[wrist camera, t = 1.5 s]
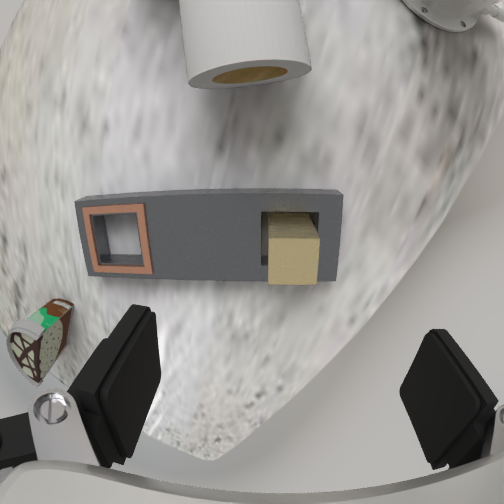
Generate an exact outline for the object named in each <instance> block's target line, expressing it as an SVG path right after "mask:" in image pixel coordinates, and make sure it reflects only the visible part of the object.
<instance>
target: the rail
mask: <svg viewBox="0 0 504 504" xmlns="http://www.w3.org/2000/svg"><path fill="white" fill-rule="evenodd" d="M342 207H343V194H342V193H340V192H339V191H338V190H323V189H199V190H173V191H153V192H137V193H122V194H109V195H97V196H86V197H84V198H81V199H79V200H77V201H75V208H76V215H77V221H78V227H79V233H80V238H81V243H82V248H83V253H84V258H85V262H86V267H87V271H88V275H89V276H100V277H122V278H146V279H176V280H216V281H268V256H261V212H315V223H314V227H315V229H316V231H317V233H318V236H319V238H320V246H319V260H318V273H317V281H336V275H337V266H338V256H339V245H340V234H341V221H342ZM119 214H136V217H137V225H138V232H139V240H140V247H141V253H142V255H116V254H110V249H109V244H108V238H107V232H106V225H105V219H104V215H119Z"/></svg>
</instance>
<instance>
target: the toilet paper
mask: <svg viewBox="0 0 504 504" xmlns="http://www.w3.org/2000/svg"><path fill="white" fill-rule="evenodd" d="M179 5H180V15H181V25H182V34H183V43H184V52H185V60H186V68H187V76H188V84H189V85H190V86H192V87H195V88H205V89H216V88H233V87H243V86H251V85H260V84H266V83H273V82H278V81H283V80H288V79H292V78H296V77H299V76H302V75H305V74H307V73H309V72H310V71H311V62H310V56H309V50H308V45H307V39H306V34H305V28H304V23H303V18H302V13H301V9H300V4H299V0H179Z"/></svg>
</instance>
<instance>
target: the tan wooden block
mask: <svg viewBox="0 0 504 504" xmlns="http://www.w3.org/2000/svg"><path fill="white" fill-rule="evenodd" d="M319 246H320V238H319V236H318V233H317V231H316V229H315V227H314V225H313V223H312V221H311V219H310V217H309V215H308V213H269V251H268V285H316V284H317V273H318V260H319Z"/></svg>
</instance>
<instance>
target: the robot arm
mask: <svg viewBox="0 0 504 504" xmlns="http://www.w3.org/2000/svg"><path fill="white" fill-rule="evenodd" d="M402 1H403V2H404V3H405V4H406V5H407V6H408V7H409V8H410V9H411V10H412V11H413V12H414V13H415V14H416V15H418V16H419V17H421V18H422V19H423V20H425V21H426V22H428V23H430V24H431V25H433V26H435V27H437V28H440V29H442V30H445V31H449V32H462V31H466V30H468V29H470V28H472V27H473V26H474V25H475V23H476V22H477V20H478V15H479V14H481V13H482V14H484V15H488V14H489V15H491V16H492V17H494V18H496V19H498V20H500V21H501V22H504V10H503V9H501V8H500V7H498V6H496V5H493V4H495V3H497V2H500V1H502V0H402ZM160 380H161V367H160V358H159V348H158V337H157V325H156V314H155V312H151V310H150V308H149V307H147V306H141V305H135V304H133V305H131V306H130V308H129V309H128V311H127V312H126V313H125V315H124V316H123V317H122V319H121V320H120V322H119V323H118V324H117V326H116V327H115V329H114V330H113V331H112V333H111V334H110V336H109V337H108V339H107V338H105V339H103V340H102V341H101V342H100V344H99V345H98V347H97V348H96V349H95V351H94V352H93V354H92V355H91V357H90V358H89V359H88V361H87V362H86V364H85V365H84V367H83V368H82V370H81V371H80V373H79V374H78V376H77V377H76V379H75V380H74V382H73V383H72V385H71V386H70V388H69V389H68V391H67V392H65V391H63V390H60V389H47V390H44V391H41V392H39V393H38V394H36V395H35V396H34V397H33V398H32V400H31V401H30V404H29V408H28V412H27V413H23V414H20V415H15V416H12V417H7V418H3V419H0V504H504V405H501V406H499V408H498V409H497V410H496V411H495V410H494V407H495V406H496V404H497V403H498V399H497V398H496V397H495V395H494V394H493V392H492V390H491V389H490V388H489V386H488V385H487V383H486V382H485V381H484V379H483V378H482V376H481V375H480V374H479V372H478V371H477V369H476V368H475V367H474V365H473V364H472V363H471V361H470V360H469V359H468V357H467V356H466V355H465V353H464V352H463V351H462V349H461V348H460V347H459V345H458V344H457V343H456V342H455V340H454V339H453V338H452V336H451V335H450V334H449V333H448V331H447V330H445V329H432V330H430V331H429V332H428V333H427V334H426V335H425V337H424V339H423V341H422V343H421V346H420V348H419V350H418V352H417V354H416V356H415V359H414V361H413V363H412V365H411V367H410V369H409V371H408V373H407V375H406V377H405V379H404V381H403V383H402V385H401V387H400V397H401V399H402V401H403V404H404V406H405V408H406V411H407V413H408V415H409V417H410V420H411V422H412V425H413V427H414V430H415V432H416V435H417V437H418V440H419V442H420V445H421V447H422V450H423V452H424V455H425V457H426V460H427V462H428V463H430V464H431V466H432V469H433V470H435V469H438V468H442V467H445V466H446V464H449V469H448V470H446V471H443V472H439V473H435V474H431V475H428V476H424V477H420V478H416V479H411V480H407V481H402V482H398V483H392V484H387V485H382V486H375V487H368V488H361V489H353V490H344V491H333V492H319V493H289V494H288V493H283V494H282V493H281V494H280V493H251V492H237V491H226V490H216V489H209V488H202V487H195V486H188V485H182V484H177V483H171V482H166V481H160V480H156V479H151V478H147V477H143V476H139V475H135V474H130V473H125V472H121V471H117V470H113V469H110V467H111V466H112V463H113V462H115V463H118V464H121V465H124V462H125V460H126V457H127V458H131V457H132V455H133V453H134V450H135V447H136V444H137V442H138V439H139V436H140V433H141V431H142V428H143V425H144V423H145V420H146V417H147V415H148V412H149V409H150V407H151V404H152V401H153V399H154V396H155V394H156V391H157V388H158V386H159V383H160Z"/></svg>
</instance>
